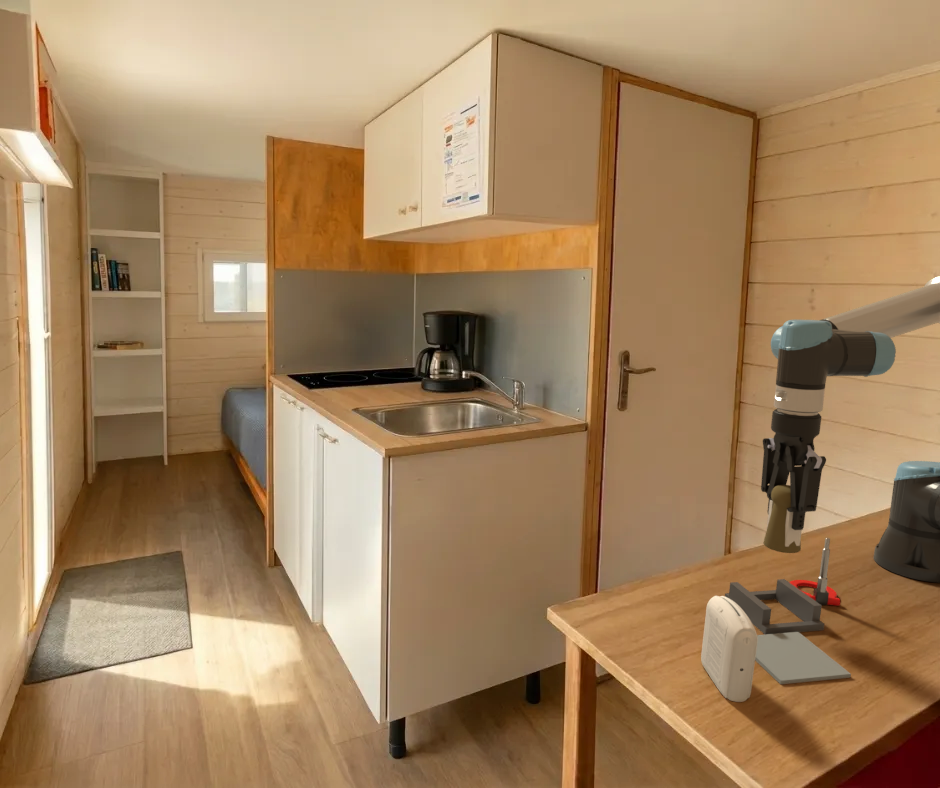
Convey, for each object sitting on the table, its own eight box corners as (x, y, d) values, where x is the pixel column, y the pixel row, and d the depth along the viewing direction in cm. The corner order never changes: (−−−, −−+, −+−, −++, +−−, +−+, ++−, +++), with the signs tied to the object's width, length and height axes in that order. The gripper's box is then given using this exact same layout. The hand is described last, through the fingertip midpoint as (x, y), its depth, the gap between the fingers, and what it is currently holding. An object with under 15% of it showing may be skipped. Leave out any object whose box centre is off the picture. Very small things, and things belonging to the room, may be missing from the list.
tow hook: (781, 583, 131) (797, 603, 122) (788, 521, 129) (805, 537, 120) (826, 587, 130) (845, 608, 121) (833, 525, 128) (853, 541, 119)
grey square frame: (777, 595, 125) (780, 576, 124) (823, 630, 113) (826, 608, 112) (724, 599, 123) (726, 579, 122) (765, 634, 111) (767, 613, 110)
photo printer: (754, 703, 93) (764, 623, 90) (725, 703, 92) (734, 623, 90) (723, 660, 103) (731, 588, 101) (696, 661, 103) (704, 588, 100)
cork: (787, 555, 111) (794, 494, 109) (756, 543, 116) (762, 484, 114) (808, 548, 115) (815, 489, 112) (776, 536, 120) (782, 479, 118)
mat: (797, 634, 111) (798, 631, 111) (850, 677, 99) (851, 673, 99) (734, 640, 109) (734, 636, 109) (780, 684, 97) (780, 680, 97)
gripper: (747, 401, 119) (735, 522, 123) (812, 422, 102) (795, 562, 106) (784, 400, 120) (771, 520, 124) (854, 421, 103) (836, 559, 108)
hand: (782, 539), depth 115 cm, fingers closed on cork, 4 cm apart
